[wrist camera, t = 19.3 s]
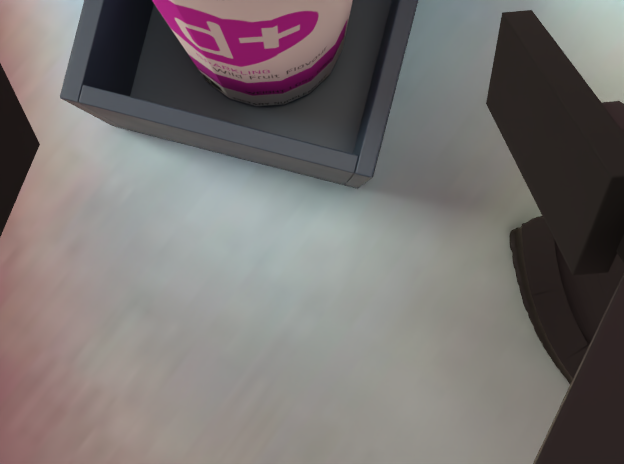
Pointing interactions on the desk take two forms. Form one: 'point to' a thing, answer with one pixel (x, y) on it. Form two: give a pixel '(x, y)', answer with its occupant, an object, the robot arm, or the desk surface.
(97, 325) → the desk surface
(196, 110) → the bin
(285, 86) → the supplement can
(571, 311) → the fan shaped piece
